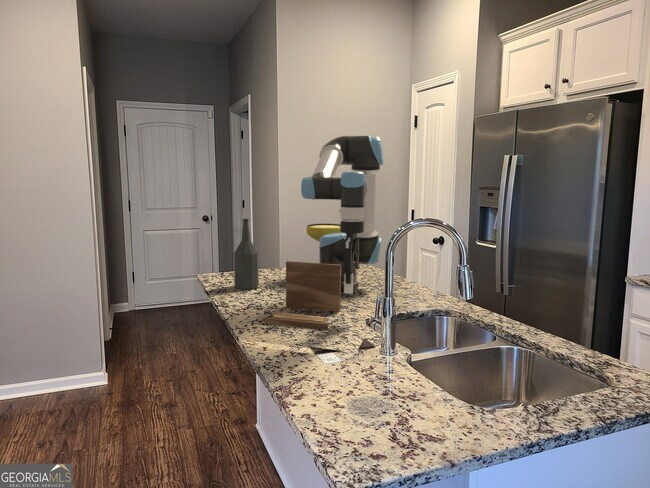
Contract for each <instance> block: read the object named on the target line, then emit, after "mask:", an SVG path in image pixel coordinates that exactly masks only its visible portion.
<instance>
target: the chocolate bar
mask: <svg viewBox="0 0 650 488" xmlns="http://www.w3.org/2000/svg"><path fill="white" fill-rule="evenodd" d="M375 347H376V346H375V345H374V344H373V343H372V342H370V341H369V340H368V339H367V338H366V337H364V339H363V340H362V341H361V344H360V345H359V347H358V348H357V349H358V351H359V350H367V349H374V348H375ZM309 349H310V350H311V351H312V352H313V354H314V355H315V356H316V355H326V354H334V353H340V352H341V353H342V352H343V353H344V350H339V349H333V348H331V349H330V348H321V347H312V346H309Z"/></svg>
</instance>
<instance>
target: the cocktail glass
mask: <svg viewBox="0 0 650 488" xmlns="http://www.w3.org/2000/svg"><path fill="white" fill-rule="evenodd" d="M334 233H342V232H341V231H340V224H339V223H312V224H308V225H306V234H307V235H308V236H309V237H310V238H312V239H313V240H315V241H317V242H318V243H320V238H321V237H322V236H324V235H328V234H334Z"/></svg>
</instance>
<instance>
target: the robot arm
mask: <svg viewBox="0 0 650 488" xmlns="http://www.w3.org/2000/svg"><path fill="white" fill-rule="evenodd" d="M382 143H383V142H382V139H381V138H380V136H376V135H375V136H374V135H340V136H338V137H335V138H333V139H331V140H329V141H328V142H326V143H325V144H324V145H323V146H322V148H321V150H320V151H319V155H318V157H319V160H318V163H317V164H316V167H315V169H314V171H313V174H312V176H305V177H303V178H302V180H301V183H300V185H301V186H300V191H301V192H300V193H301V196H302V198H303V199H305V200H312V201H314V200H335V201H338V200H339V201H340V209H339V210H338V213H340V219H341V220H340V222H339V223H340V231H341V232H342V233H334V234H328V235H324V236H322V237H321V238H320V242H319V246H318V247H319V263H321V264H337V265H341V290H343V292H344V293H349V294H353V260H354V261H355V263H356V265H355V270H356V271H357V272H356V276H355V277H356V281H358V270H360V269H361V266H360V265H366V266H367V265H377V264H378V262H379V258H380V254H381V253H380V252H381V247H382V246H381V245H382V237H381V236H380V237H379V232H378V231H377V230H376V195H377V194H376V193H377V192H376V190H377V189H376V188H377V187H376V185H377V183H376V182H377V180H376V179H377V173H378V172H379V171H380V170H381V166H384V152H383V151H384V150H383V144H382ZM343 165H344V166H351V171H343V172H342V173H341V175H340V177H335V175H336V173H337V171H338V167H340V166H343ZM343 281H344V288H343V284H342V282H343Z"/></svg>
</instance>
